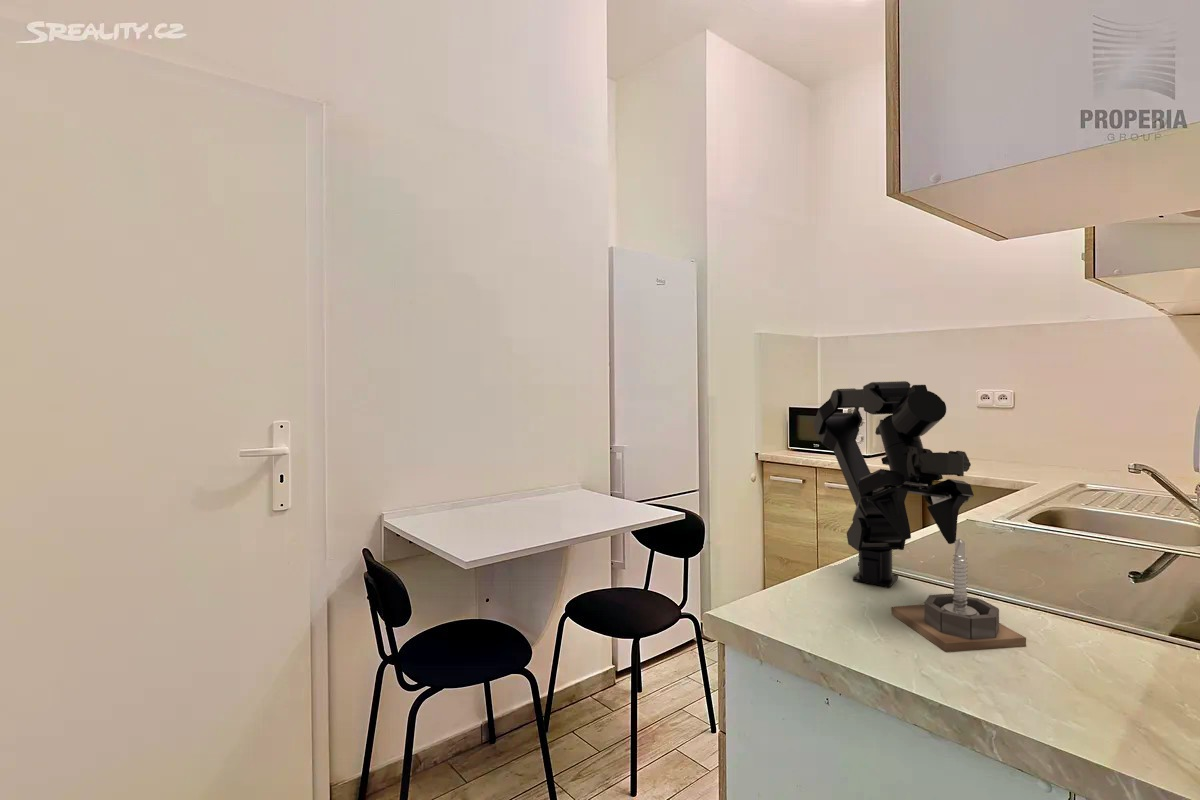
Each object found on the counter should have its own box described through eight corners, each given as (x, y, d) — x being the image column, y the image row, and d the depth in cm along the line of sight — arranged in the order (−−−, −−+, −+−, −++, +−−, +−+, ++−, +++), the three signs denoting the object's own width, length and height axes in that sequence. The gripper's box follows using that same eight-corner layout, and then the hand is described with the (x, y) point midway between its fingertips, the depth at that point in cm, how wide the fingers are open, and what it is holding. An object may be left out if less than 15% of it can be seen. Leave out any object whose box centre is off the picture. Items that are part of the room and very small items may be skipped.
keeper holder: (891, 613, 94) (891, 588, 94) (961, 609, 95) (961, 583, 95) (945, 651, 81) (945, 622, 81) (1026, 645, 82) (1026, 616, 82)
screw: (938, 616, 90) (974, 619, 88) (945, 629, 85) (983, 633, 84) (937, 533, 89) (974, 535, 88) (945, 542, 85) (983, 544, 83)
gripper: (898, 420, 88) (927, 521, 81) (987, 437, 94) (1021, 532, 87) (846, 448, 97) (868, 541, 90) (930, 461, 103) (957, 550, 96)
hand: (930, 541), depth 90 cm, fingers open, 9 cm apart
